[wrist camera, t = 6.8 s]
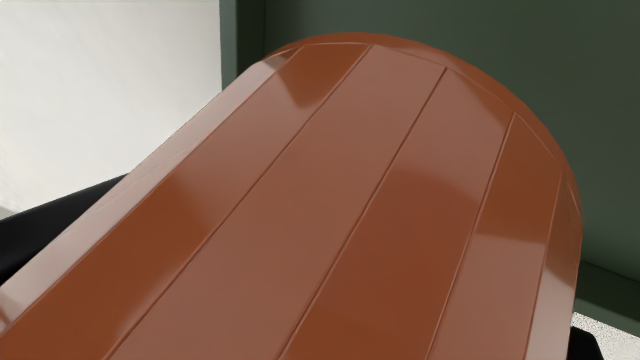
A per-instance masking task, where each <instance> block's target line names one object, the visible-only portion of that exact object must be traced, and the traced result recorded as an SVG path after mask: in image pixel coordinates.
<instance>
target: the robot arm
mask: <svg viewBox="0 0 640 360" xmlns="http://www.w3.org/2000/svg"><path fill="white" fill-rule="evenodd" d="M128 174H129V173H127V174H124V175H122V176H119V177H116V178H113V179H111V180H108V181H105V182H102V183H100V184H97V185H94V186H92V187H89V188H86V189H83V190H81V191H78V192H75V193H72V194H70V195H67V196H64V197H62V198H59V199H56V200H53V201H51V202H48V203H45V204H42V205H40V206H37V207H34V208H32V209H29V210H26V211H23V212H21V213H18V214H15V215H12V216H10V217H7V218H5V219H2V220H0V287H1V286H2V285H3V284H4V283H5V282H6V281H7V280H9V279H10V278H11V277H12V276H13V275H14V274H15V273H17V272H18V271H19V270H20V269H21V268H22V267H23V266H25V265H26V264H27V263H28V262H29V261H30V260H31V259H32V258H34V257H35V256H36V255H37V254H38V253H39V252H40V251H42V250H43V249H44V248H45V247H46V246H47V245H48V244H49V243H51V242H52V241H53V240H54V239H55V238H56V237H57V236H59V235H60V234H61V233H62V232H63V231H64V230H65V229H66V228H68V227H69V226H70V225H71V224H72V223H73V222H74V221H76V220H77V219H78V218H79V217H80V216H81V215H82V214H83V213H85V212H86V211H87V210H88V209H89V208H90V207H91V206H93V205H94V204H95V203H96V202H97V201H98V200H99V199H100V198H102V197H103V196H104V195H105V194H106V193H107V192H108V191H110V190H111V189H112V188H113V187H114V186H115V185H116V184H118V183H119V182H120V181H121V180H122V179H123V178H124V177H125V176H127V175H128ZM568 360H604V359H603V356H602V354H601V351H600V348H599V346H598V343H597V341H596V338H595V337H594V336H593V335H592V334H591V333H589V332H587V331H584V330H582V329H579V328H577V327H574V326H572V332H571V340H570V347H569V355H568Z"/></svg>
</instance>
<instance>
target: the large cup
mask: <svg viewBox="0 0 640 360" xmlns="http://www.w3.org/2000/svg"><path fill="white" fill-rule="evenodd" d="M583 232H584V217H583V208H582V200H581V196H580V193H579V189H578V186H577V182H576V179H575V176H574V174H573V172H572V170H571V168H570V165H569V163H568V161H567V159H566V157H565V155H564V153H563V151H562V150H561V148H560V147H559V145H558V144H557V142H556V141H555V139H554V138H553V136H552V135H551V133H550V132H549V130H548V129H547V127H546V126H545V125H544V124H543V123H542V122H541V121H540V120H539V118H538V117H537V116H536V115H535V114H534V113H533V112H532V111H531V109H530V108H529V107H528V106H527V105H526V104H525V103H524V102H522V101H521V100H520V99H519V98H518V97H517V96H516V95H514V94H513V93H512V92H511V91H510V90H509V89H507V88H506V87H505V86H504V85H503V84H501V83H500V82H498V81H497V80H495V79H494V78H492V77H491V76H489V75H488V74H486V73H485V72H483V71H482V70H480V69H479V68H477V67H476V66H474V65H472V64H470V63H468V62H466V61H464V60H462V59H460V58H458V57H456V56H454V55H452V54H450V53H448V52H445V51H443V50H440V49H437V48H435V47H432V46H429V45H426V44H424V43H421V42H418V41H413V40H409V39H405V38H401V37H396V36H392V35H385V34H376V33H366V32H345V33H329V34H324V35H318V36H312V37H307V38H304V39H302V40H299V41H296V42H293V43H290V44H287V45H285V46H283V47H281V48H279V49H277V50H275V51H273V52H272V53H270V54H268V55H266V56H265V57H264V58H263V59H261V60H260V61H259V62H257V63H255V64H253V65H252V66H250V67H249V68H248V69H247V70H246V71H245V72H243V73H242V74H241V75H240V76H239V77H238V78H237V79H235V80H234V81H233V82H232V83H231V84H230V85H229V86H228V87H226V88H225V89H224V90H223V91H222V92H221V93H220V94H218V95H217V96H216V97H215V98H214V99H213V100H212V101H211V102H209V103H208V104H207V105H206V106H205V107H204V108H203V109H201V110H200V111H199V112H198V113H197V114H196V115H195V116H193V117H192V118H191V119H190V120H189V121H188V122H187V123H186V124H184V125H183V126H182V127H181V128H180V129H179V130H178V131H176V132H175V133H174V134H173V135H172V136H171V137H170V138H169V139H167V140H166V141H165V142H164V143H163V144H162V145H161V146H159V147H158V148H157V149H156V150H155V151H154V152H153V153H152V154H150V155H149V156H148V157H147V158H146V159H145V160H144V161H142V162H141V163H140V164H139V165H138V166H137V167H136V168H135V169H133V170H132V171H131V172H130V173H129V174H128V175H127V176H125V177H124V178H123V179H122V180H121V181H120V182H119V183H118V184H116V185H115V186H114V187H113V188H112V189H111V190H110V191H108V192H107V193H106V194H105V195H104V196H103V197H102V198H100V199H99V200H98V201H97V202H96V203H95V204H94V205H93V206H91V207H90V208H89V209H88V210H87V211H86V212H85V213H83V214H82V215H81V216H80V217H79V218H78V219H77V220H76V221H74V222H73V223H72V224H71V225H70V226H69V227H68V228H66V229H65V230H64V231H63V232H62V233H61V234H60V235H59V236H57V237H56V238H55V239H54V240H53V241H52V242H51V243H49V244H48V245H47V246H46V247H45V248H44V249H43V250H42V251H40V252H39V253H38V254H37V255H36V256H35V257H34V258H32V259H31V260H30V261H29V262H28V263H27V264H26V265H25V266H23V267H22V268H21V269H20V270H19V271H18V272H17V273H15V274H14V275H13V276H12V277H11V278H10V279H9V280H7V281H6V282H5V283H4V284H3V285H2V286H1V287H0V360H568V355H569V347H570V340H571V332H572V325H573V318H574V310H575V303H576V295H577V288H578V280H579V271H580V261H581V252H582V244H583Z"/></svg>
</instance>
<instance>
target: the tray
mask: <svg viewBox="0 0 640 360" xmlns="http://www.w3.org/2000/svg"><path fill="white" fill-rule="evenodd" d="M219 7H220V41H221V75H222V91H223V90H224V89H225V88H226V87H228V86H229V85H230V84H231V83H232V82H233V81H234V80H235V79H237V78H238V77H239V76H240V75H241V74H242V73H243V72H245V71H246V70H247V69H248V68H249V67H250V66H252V65H253V64H255V63H257V62H259V61H260V60H261V59H263V58H264V57H265V56H266V55H268V54H270V53H272V52H273V51H275V50H277V49H279V48H281V47H283V46H285V45H287V44H290V43H293V42H296V41H299V40H302V39H304V38H307V37H312V36H318V35H324V34H329V33H345V32H366V33H376V34H385V35H392V36H396V37H401V38H405V39H409V40H413V41H418V42H421V43H424V44H426V45H429V46H432V47H435V48H437V49H440V50H443V51H445V52H448V53H450V54H452V55H454V56H456V57H458V58H460V59H462V60H464V61H466V62H468V63H470V64H472V65H474V66H476V67H477V68H479V69H480V70H482V71H483V72H485V73H486V74H488V75H489V76H491V77H492V78H494V79H495V80H497V81H498V82H500V83H501V84H503V85H504V86H505V87H506V88H507V89H509V90H510V91H511V92H512V93H513V94H514V95H516V96H517V97H518V98H519V99H520V100H521V101H522V102H524V103H525V104H526V105H527V106H528V107H529V108H530V109H531V111H532V112H533V113H534V114H535V115H536V116H537V117H538V118H539V120H540V121H541V122H542V123H543V124H544V125H545V126H546V127H547V129H548V130H549V132H550V133H551V135H552V136H553V138H554V139H555V141H556V142H557V144H558V145H559V147H560V148H561V150H562V151H563V153H564V155H565V157H566V159H567V161H568V163H569V165H570V168H571V170H572V172H573V174H574V176H575V179H576V182H577V186H578V189H579V193H580V196H581V200H582V208H583V217H584V232H583V244H582V252H581V261H580V271H579V280H578V288H577V295H576V303H575V310H574V312H577V313H579V314H582V315H584V316H587V317H589V318H592V319H594V320H597V321H599V322H602V323H604V324H607V325H609V326H612V327H614V328H617V329H619V330H622V331H624V332H627V333H629V334H632V335H634V336H637V337H639V338H640V0H219Z"/></svg>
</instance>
